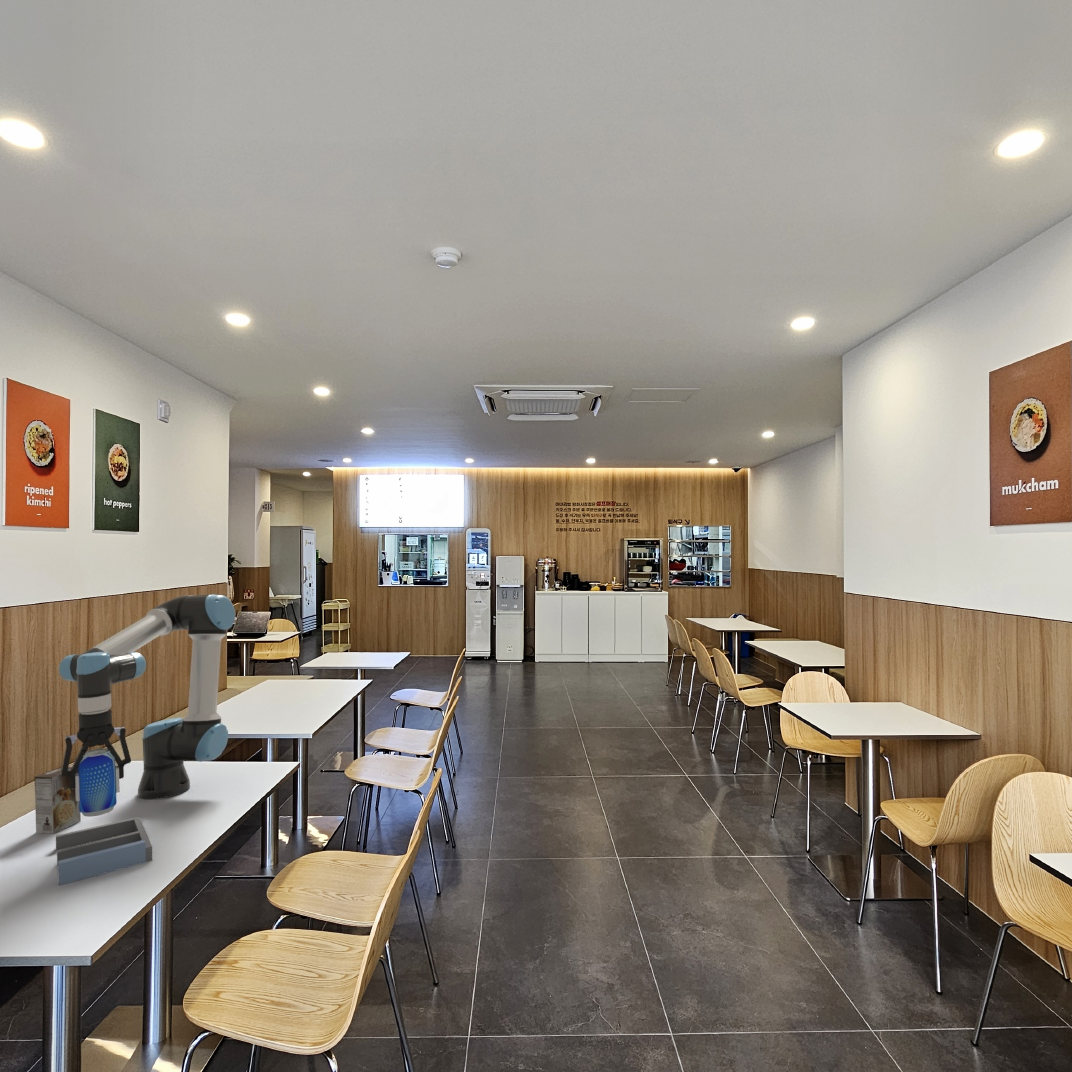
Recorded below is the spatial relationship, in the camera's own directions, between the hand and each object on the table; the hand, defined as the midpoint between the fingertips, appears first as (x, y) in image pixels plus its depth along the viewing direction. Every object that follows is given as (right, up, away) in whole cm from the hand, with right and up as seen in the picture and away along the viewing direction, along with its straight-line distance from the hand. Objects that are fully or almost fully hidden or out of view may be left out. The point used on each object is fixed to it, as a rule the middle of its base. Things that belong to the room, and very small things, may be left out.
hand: (97, 795), depth 182 cm
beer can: (0, -5, 0) cm, 5 cm away
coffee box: (-21, -15, +15) cm, 30 cm away
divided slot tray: (+4, -14, -6) cm, 15 cm away
